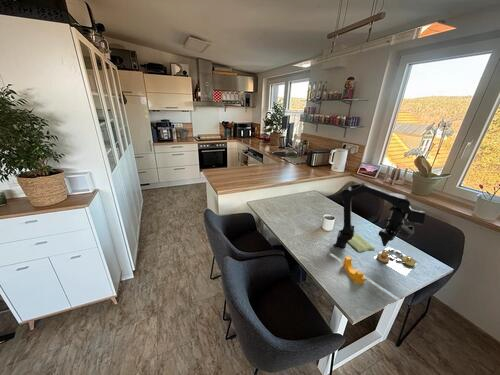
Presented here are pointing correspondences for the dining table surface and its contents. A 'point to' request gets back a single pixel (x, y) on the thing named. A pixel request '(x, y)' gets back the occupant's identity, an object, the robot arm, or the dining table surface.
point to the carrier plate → (399, 261)
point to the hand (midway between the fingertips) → (387, 242)
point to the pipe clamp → (353, 271)
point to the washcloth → (360, 244)
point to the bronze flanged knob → (383, 256)
